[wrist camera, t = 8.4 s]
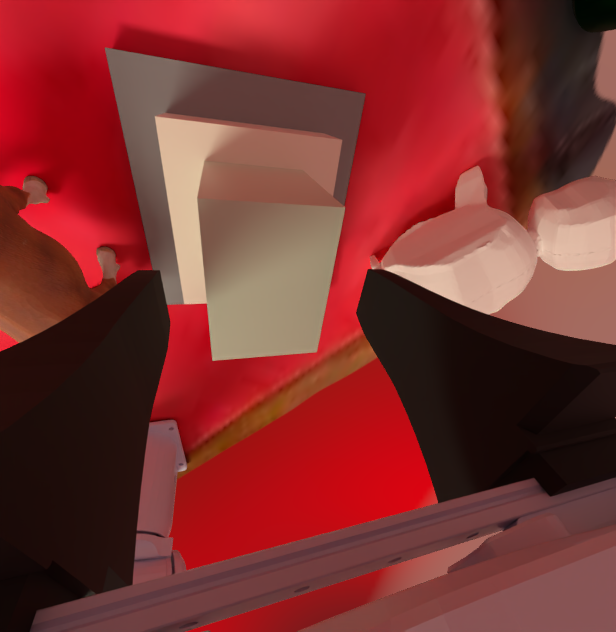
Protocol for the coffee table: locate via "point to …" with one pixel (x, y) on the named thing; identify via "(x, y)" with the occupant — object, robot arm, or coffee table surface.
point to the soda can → (595, 14)
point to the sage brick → (265, 258)
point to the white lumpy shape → (505, 242)
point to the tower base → (214, 99)
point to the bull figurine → (40, 269)
